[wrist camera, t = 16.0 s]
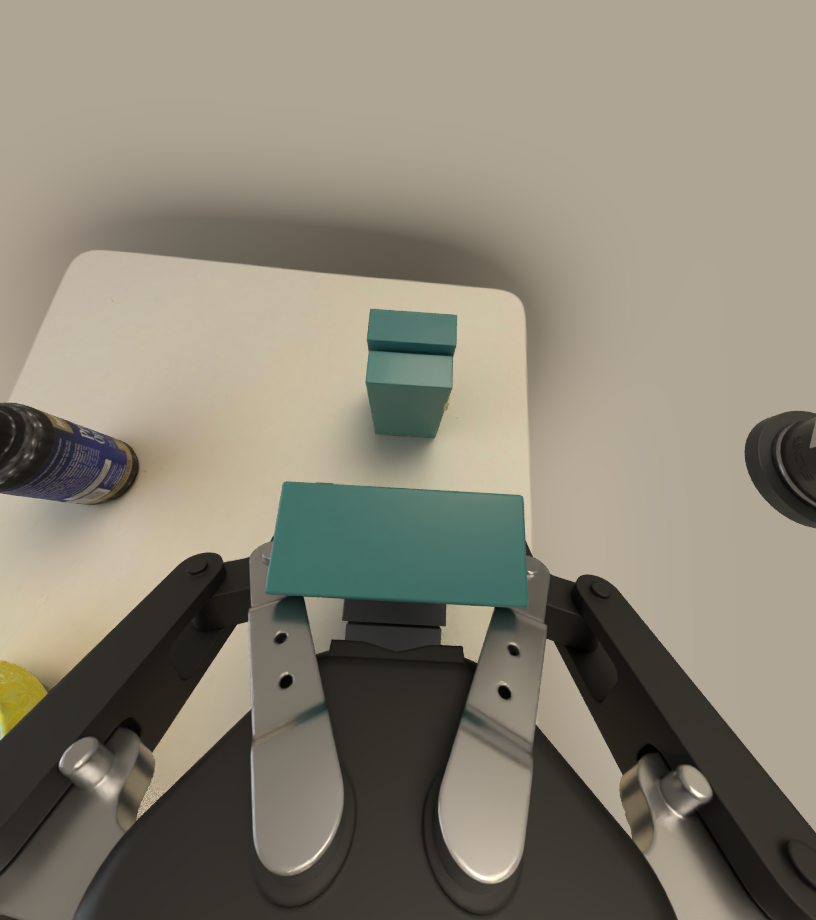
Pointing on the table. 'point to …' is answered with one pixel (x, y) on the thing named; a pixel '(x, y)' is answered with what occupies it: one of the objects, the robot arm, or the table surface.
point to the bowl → (17, 695)
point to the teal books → (409, 370)
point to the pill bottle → (60, 458)
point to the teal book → (399, 545)
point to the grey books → (394, 623)
